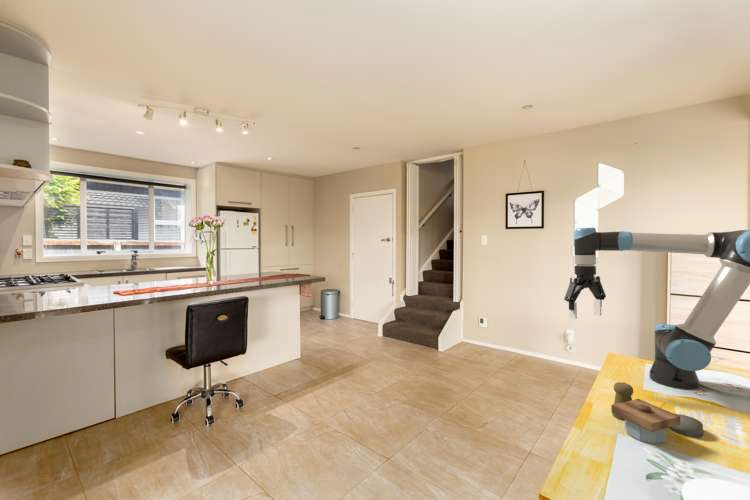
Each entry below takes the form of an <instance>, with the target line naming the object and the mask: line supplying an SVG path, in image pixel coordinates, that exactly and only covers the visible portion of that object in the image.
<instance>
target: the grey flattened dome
mask: <svg viewBox="0 0 750 500" xmlns="http://www.w3.org/2000/svg"><path fill="white" fill-rule="evenodd" d="M675 414H676V415H678V416H680V425H678V426H675V427H671V428H668V429H669V430H670V431H671V432H673V433H676V434H678V435H680V436H684V437H688V438H695V439H696V438H697V439H698V438H702V437H703V436H704V424H703V423H702V421H700V420H698V419H696V418H695V417H691V416H689V415H686V414H681V413H675Z"/></svg>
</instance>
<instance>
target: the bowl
mask: <svg viewBox="0 0 750 500" xmlns="http://www.w3.org/2000/svg"><path fill="white" fill-rule="evenodd" d="M624 429H625V432H626V434H627V435H628V436H629V437H631V438H633V439H634V440H636V441H639V442H642V443H646V444H648V445H649V444H650V445H662V444H664V443H665V442H666V440H667V439H666V438H667V437H666V436H667V429H663V430H659V431H655V432H650V431H648V430H646V429H644V428H642V427H640V426H638V425H636V424H633V423H631V422H629V421H627V420H625V421H624Z"/></svg>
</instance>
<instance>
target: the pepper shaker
mask: <svg viewBox="0 0 750 500" xmlns="http://www.w3.org/2000/svg"><path fill="white" fill-rule="evenodd" d="M613 391H614V392H615V397H614V402H613V404H617V403H622V402H626V401H631V400H633V399H632V396H633V395H634V389H633V386H632V385H631V384H629V383H627V382H622V381H619V382H615V383H614V385H613ZM611 414H612V417H614V418H615V419H617V420H619V421H621V422H625V419H623V418H621V417H619V416H617V415H615V414H613V413H611Z"/></svg>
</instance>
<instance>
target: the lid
mask: <svg viewBox="0 0 750 500" xmlns="http://www.w3.org/2000/svg"><path fill="white" fill-rule="evenodd" d="M611 414H615V415H617V416H619V417H621V418H623V419H625V420H627V421H629V422H631V423H633V424H636V425H638V426H640V427H642V428H644V429H646V430H648V431H650V432H655V431H659V430H663V429H666V430H667V429H669V428H671V427H675V426H678V425H680V416H678V415H676V414H677V413H673V412H671V411H668V410H666V409H664V408H663V407H662V408H661V407H659V406H657V405H654V404H652V403H650V402H647V401H645V400H643V399H640V398H636V399H632V400H631V401H626V402H622V403H617V404H614V403H612V404H611Z"/></svg>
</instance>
